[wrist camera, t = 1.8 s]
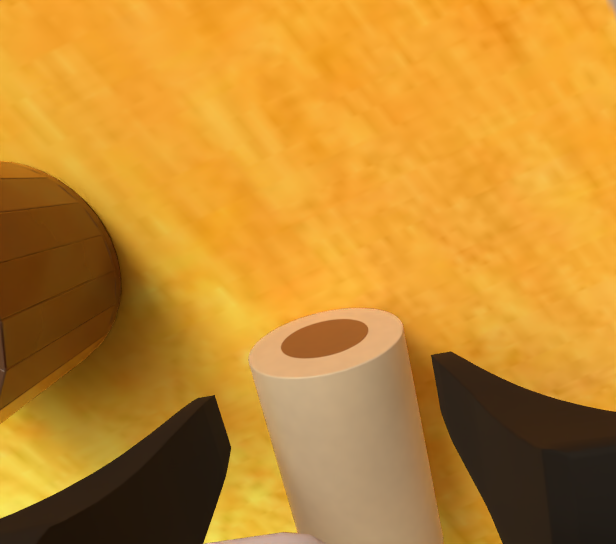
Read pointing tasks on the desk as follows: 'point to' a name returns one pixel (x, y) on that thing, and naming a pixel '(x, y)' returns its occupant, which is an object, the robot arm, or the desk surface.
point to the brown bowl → (49, 283)
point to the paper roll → (347, 428)
